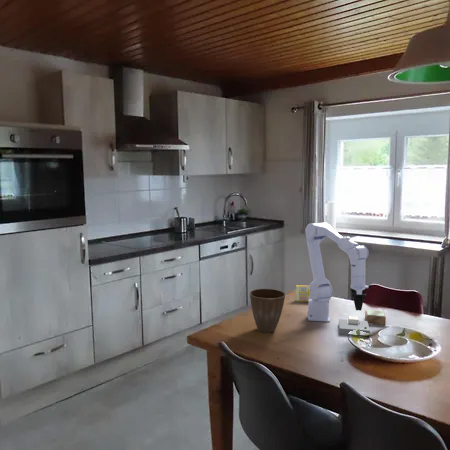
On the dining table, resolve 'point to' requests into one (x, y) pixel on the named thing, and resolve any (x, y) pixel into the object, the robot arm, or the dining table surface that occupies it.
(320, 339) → the dining table surface
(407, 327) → the dining table surface
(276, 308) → the plant pot
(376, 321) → the walnut stand
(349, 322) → the cream block
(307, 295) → the candy box
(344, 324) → the slate notch board
